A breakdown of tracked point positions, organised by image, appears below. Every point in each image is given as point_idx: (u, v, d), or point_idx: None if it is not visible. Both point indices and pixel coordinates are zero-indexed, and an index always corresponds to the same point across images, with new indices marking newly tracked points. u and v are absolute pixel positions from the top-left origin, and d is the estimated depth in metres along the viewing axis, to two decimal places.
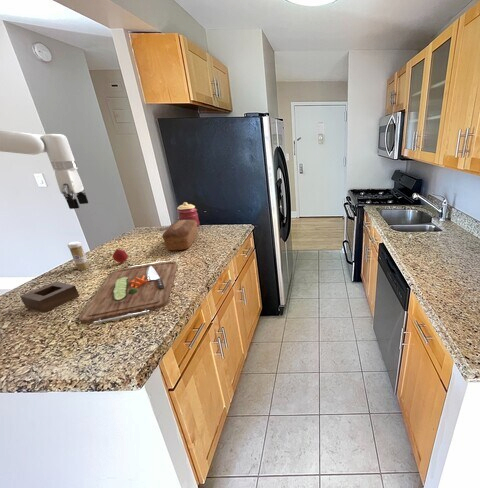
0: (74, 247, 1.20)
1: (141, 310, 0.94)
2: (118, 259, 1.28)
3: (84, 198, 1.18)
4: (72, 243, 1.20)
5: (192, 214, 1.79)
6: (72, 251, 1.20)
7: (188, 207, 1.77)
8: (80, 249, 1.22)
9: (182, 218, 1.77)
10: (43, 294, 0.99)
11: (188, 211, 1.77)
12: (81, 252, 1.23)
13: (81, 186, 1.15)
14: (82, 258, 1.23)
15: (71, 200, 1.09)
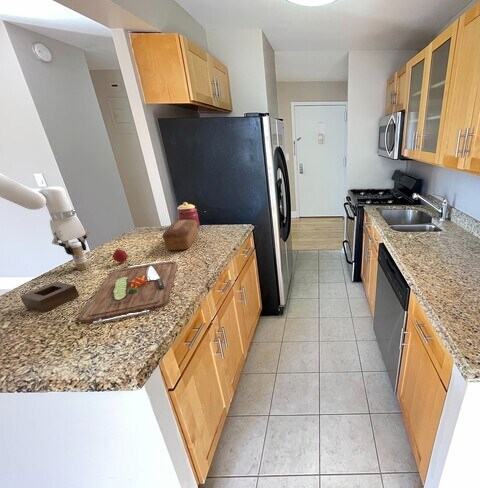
0: (74, 247, 1.20)
1: (141, 310, 0.94)
2: (118, 259, 1.28)
3: (82, 246, 1.24)
4: (72, 243, 1.20)
5: (192, 214, 1.79)
6: None
7: (188, 207, 1.77)
8: (80, 249, 1.22)
9: (182, 218, 1.77)
10: (43, 294, 0.99)
11: (188, 211, 1.77)
12: (81, 252, 1.23)
13: (79, 232, 1.21)
14: (82, 258, 1.23)
15: (65, 248, 1.18)
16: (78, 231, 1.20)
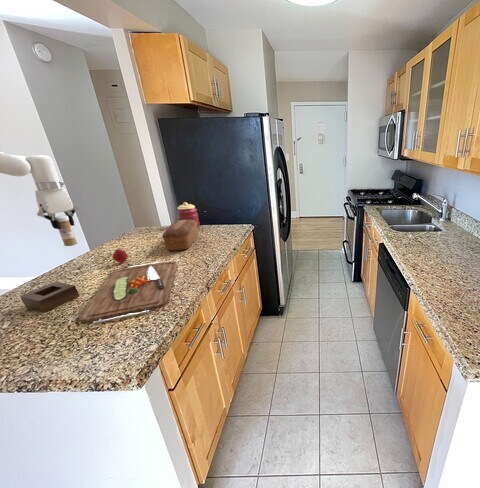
0: (61, 221, 1.14)
1: (141, 310, 0.94)
2: (118, 259, 1.28)
3: (70, 220, 1.17)
4: (59, 217, 1.14)
5: (192, 214, 1.79)
6: None
7: (188, 207, 1.77)
8: (67, 223, 1.16)
9: (182, 218, 1.77)
10: (43, 294, 0.99)
11: (188, 211, 1.77)
12: (69, 226, 1.17)
13: (66, 206, 1.15)
14: (69, 233, 1.17)
15: (52, 221, 1.12)
16: (66, 204, 1.14)
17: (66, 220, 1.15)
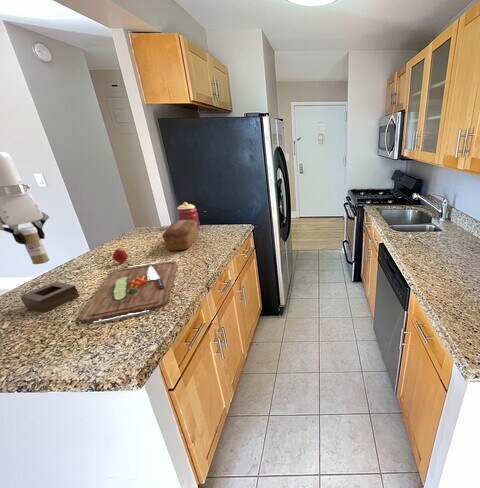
0: (26, 234, 0.91)
1: (141, 310, 0.94)
2: (118, 259, 1.28)
3: (38, 233, 0.95)
4: (24, 229, 0.92)
5: (192, 214, 1.79)
6: None
7: (188, 207, 1.77)
8: (35, 237, 0.94)
9: (182, 218, 1.77)
10: (43, 294, 0.99)
11: (188, 211, 1.77)
12: (37, 240, 0.94)
13: (33, 215, 0.92)
14: (38, 249, 0.95)
15: (14, 235, 0.90)
16: (32, 213, 0.92)
17: (33, 233, 0.93)
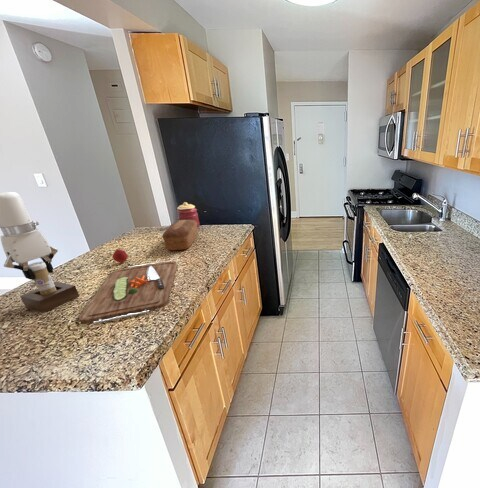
0: (35, 270, 0.93)
1: (141, 310, 0.94)
2: (118, 259, 1.28)
3: (47, 267, 0.97)
4: (33, 264, 0.93)
5: (192, 214, 1.79)
6: None
7: (188, 207, 1.77)
8: (44, 272, 0.95)
9: (182, 218, 1.77)
10: None
11: (188, 211, 1.77)
12: (46, 275, 0.96)
13: (42, 251, 0.94)
14: (47, 283, 0.96)
15: (24, 271, 0.91)
16: (41, 249, 0.93)
17: (42, 268, 0.94)
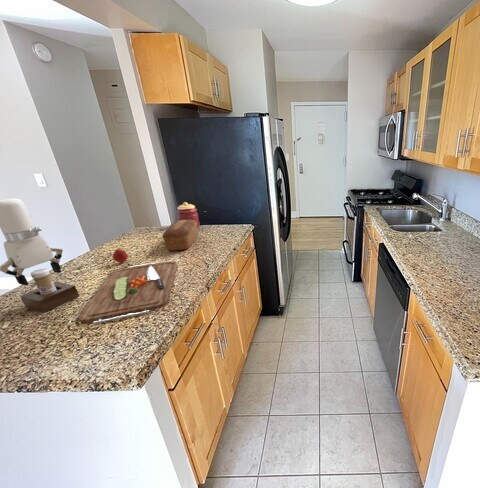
0: (39, 277, 0.94)
1: (141, 310, 0.94)
2: (118, 259, 1.28)
3: (55, 267, 0.99)
4: (37, 272, 0.94)
5: (192, 214, 1.79)
6: (37, 282, 0.94)
7: (188, 207, 1.77)
8: (48, 279, 0.96)
9: (182, 218, 1.77)
10: None
11: (188, 211, 1.77)
12: (49, 282, 0.97)
13: (45, 256, 0.95)
14: (51, 290, 0.97)
15: (16, 277, 0.89)
16: (43, 254, 0.94)
17: (46, 275, 0.95)
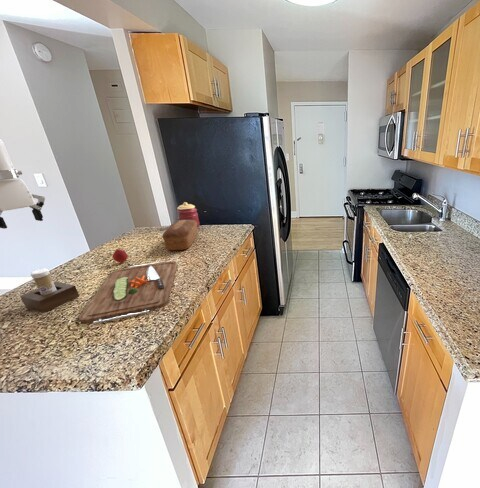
0: (39, 277, 0.94)
1: (141, 310, 0.94)
2: (118, 259, 1.28)
3: (37, 214, 0.97)
4: (37, 272, 0.94)
5: (192, 214, 1.79)
6: (37, 282, 0.94)
7: (188, 207, 1.77)
8: (48, 279, 0.96)
9: (182, 218, 1.77)
10: None
11: (188, 211, 1.77)
12: (50, 282, 0.97)
13: (25, 201, 0.92)
14: (51, 290, 0.97)
15: None
16: (24, 199, 0.92)
17: (46, 275, 0.95)
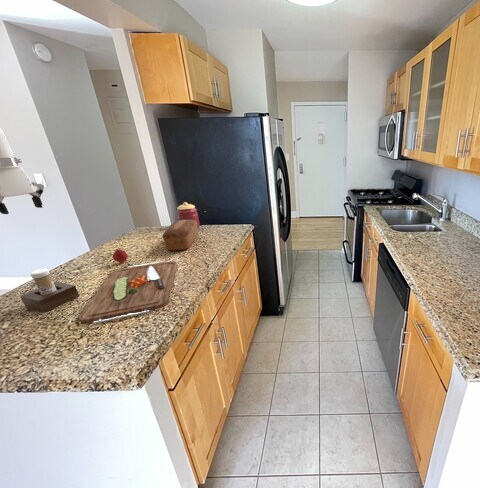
0: (39, 277, 0.94)
1: (141, 310, 0.94)
2: (118, 259, 1.28)
3: (37, 201, 1.01)
4: (37, 272, 0.94)
5: (192, 214, 1.79)
6: (37, 282, 0.94)
7: (188, 207, 1.77)
8: (48, 279, 0.96)
9: (182, 218, 1.77)
10: None
11: (188, 211, 1.77)
12: (50, 282, 0.97)
13: (25, 188, 0.96)
14: (51, 290, 0.97)
15: None
16: (24, 186, 0.96)
17: (46, 275, 0.95)
